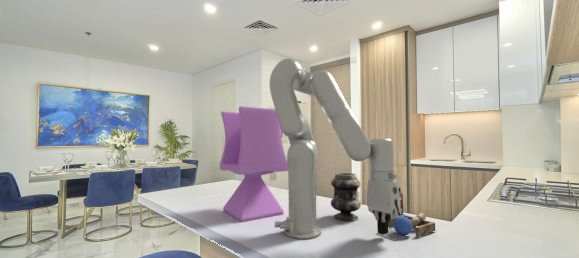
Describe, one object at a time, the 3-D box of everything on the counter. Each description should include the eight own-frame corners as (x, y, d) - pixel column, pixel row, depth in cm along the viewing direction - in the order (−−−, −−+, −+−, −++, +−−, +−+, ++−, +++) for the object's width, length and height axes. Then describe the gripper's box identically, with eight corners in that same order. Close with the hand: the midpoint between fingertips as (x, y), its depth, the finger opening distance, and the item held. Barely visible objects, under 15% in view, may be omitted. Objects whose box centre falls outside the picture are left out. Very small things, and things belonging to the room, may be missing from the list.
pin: (407, 226, 88) (424, 214, 90) (401, 223, 90) (418, 212, 93) (409, 232, 88) (426, 220, 91) (404, 230, 90) (421, 218, 93)
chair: (219, 211, 116) (220, 111, 118) (262, 204, 129) (263, 114, 131) (239, 223, 97) (240, 106, 100) (288, 214, 110) (287, 110, 113)
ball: (418, 223, 86) (409, 238, 87) (401, 212, 90) (393, 226, 91) (413, 224, 81) (403, 240, 82) (396, 212, 85) (387, 227, 86)
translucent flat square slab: (394, 240, 80) (394, 240, 80) (376, 234, 86) (376, 233, 86) (409, 235, 85) (409, 235, 85) (391, 229, 91) (391, 229, 91)
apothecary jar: (367, 220, 102) (366, 174, 103) (341, 223, 98) (340, 175, 99) (349, 212, 113) (348, 171, 114) (325, 215, 109) (325, 172, 110)
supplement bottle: (405, 215, 108) (404, 188, 109) (390, 214, 109) (389, 188, 110) (401, 211, 114) (401, 186, 114) (387, 211, 115) (387, 185, 116)
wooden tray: (418, 237, 83) (418, 228, 83) (386, 227, 93) (386, 218, 93) (435, 231, 89) (435, 222, 89) (403, 222, 99) (403, 214, 99)
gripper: (409, 177, 80) (411, 238, 79) (371, 173, 92) (372, 225, 91) (394, 179, 76) (396, 243, 75) (356, 174, 88) (357, 228, 87)
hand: (382, 233), depth 83 cm, fingers closed
